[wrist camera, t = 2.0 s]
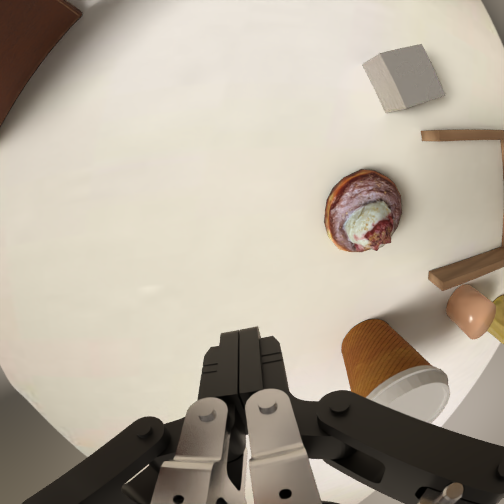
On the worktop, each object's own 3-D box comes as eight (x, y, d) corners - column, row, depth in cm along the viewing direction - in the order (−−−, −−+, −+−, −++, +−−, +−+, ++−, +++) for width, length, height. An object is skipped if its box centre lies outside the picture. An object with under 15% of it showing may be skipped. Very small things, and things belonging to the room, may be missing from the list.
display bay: (420, 130, 23) (438, 130, 20) (503, 130, 22) (520, 131, 19) (428, 279, 28) (442, 290, 25) (504, 252, 27) (518, 259, 25)
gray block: (361, 64, 21) (379, 53, 17) (400, 54, 20) (421, 44, 16) (384, 113, 22) (406, 108, 19) (421, 99, 22) (445, 95, 18)
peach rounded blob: (448, 290, 29) (472, 309, 24) (475, 279, 29) (499, 296, 24) (444, 323, 30) (464, 344, 26) (470, 312, 30) (491, 330, 26)
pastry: (343, 264, 27) (362, 286, 23) (304, 198, 25) (318, 210, 20) (406, 220, 26) (434, 234, 21) (374, 153, 24) (401, 155, 19)
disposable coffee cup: (416, 318, 30) (470, 382, 18) (373, 377, 33) (407, 448, 21) (356, 294, 28) (409, 371, 17) (312, 363, 31) (337, 447, 20)
